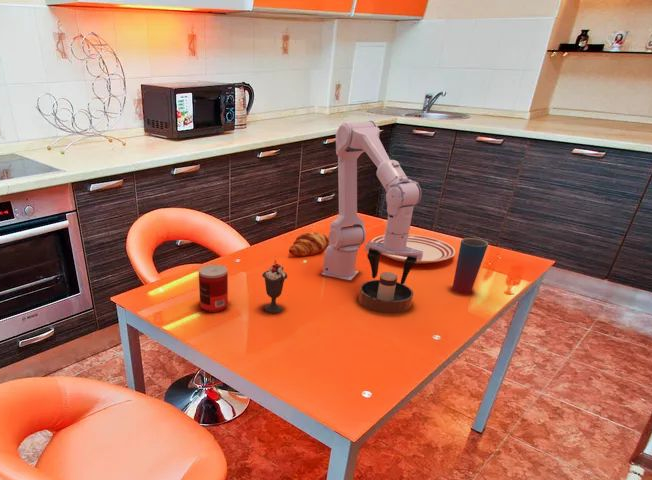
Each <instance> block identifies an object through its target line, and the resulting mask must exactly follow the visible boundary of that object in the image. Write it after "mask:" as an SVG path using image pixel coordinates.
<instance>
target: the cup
mask: <svg viewBox="0 0 652 480" xmlns="http://www.w3.org/2000/svg"><path fill="white" fill-rule="evenodd" d="M488 246H489V242H488V241H486V240H484V239H482V238H477V237H465V238H462V239H461V240H460V245H459V251H458V256H457V260H456V261H457V262H456V267H455V272H454V278H453V283H452V288H451V289H452V291H454V292H455V293H458V294H462V295H463V294H465V295H467V294H470V293H472V290H473V288H474V285H475V282H476V280H477V277H478V274H479V271H480V269H481V265H482V263H483V260H484V257H485V254H486V253H487V249H488Z"/></svg>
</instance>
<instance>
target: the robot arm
mask: <svg viewBox="0 0 652 480" xmlns="http://www.w3.org/2000/svg"><path fill="white" fill-rule="evenodd" d="M380 133H381V129H380V128H379V126H378V125H377V122H376V121H375V120H368V121H357V122H356V121H355V122H342V123H341V124H340V125H339V127H337V130H336V132H335V154H336V156H337V178H338V216H337V217H336V218H335V219H334V220H333V221H332V222H331V223H330V229H329V234H328V237H329V244H328V245H327V246H326V248H325V252H324V256H323V266H322V267H323V268H322V272H321V275H322V276H325V277H334V278H338V279H342V280H346V281H352V280H353V279H354V277H356V275H357V274H358V273H359V270H357V269H356V265H357V259H358V257H357V256H358V251H359V249H361V247H362V246H363V244H364V243H365V242H366V238H367V231H366V228H365V221H364V219H363V218H361V216H359V215H358V158H359V157H360V156H361V155H362V154H363V153H364V152H365V153H366V155H367V157H369V159H370V160H371V161H372V163H373V164H374V166H376V168H377V169H376V172H375V173H376V175H375V176H376V177H377V178H378V181H379V182H380V183H381V186H383V188H384V190H385V192H386V193H385V201H386V213H387V219H386V224H385V230H384V235H385V237H384V243H374V242H371V241H367V242H366V243H365V248H364V251H365V252H367V260H368V261H369V265H370V269H371V277H372V279H375V278H376V277H378V272H379V264H380V260H381V255H382V254H381V253H386V254H389V255H397V256H402V257H407V259H406V260H405V261H404V262H403V271H402V275H401V279H400V283H401V284H404V285H405V283H406V280H407V278H408V275H409V273H410V271H411V270H412V268H413V267H414V265H416V264H415V262H416V261H417V260H419V261H421V259H422V257H423V252H424V251H419V250H416V249H413V248H409V247H406V244H407V239H408V234H409V233H410V228H411V223H412V218H413V213H414V207H415V206H417V205H418V204H419V203H420V202H421V199H422V188H421V186H420V184H419V182H417V181H414V180H412V179H410V178H408V176H407V175H406V173H405V172H404V170H403V168H402V167H401V164H400V163H399V161H398V160H395V159H390V157H389V155H388V153H387V152H386V149H385V147H384V145H383V143H382V140H381V139H380ZM361 245H362V246H361Z"/></svg>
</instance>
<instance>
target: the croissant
mask: <svg viewBox="0 0 652 480" xmlns="http://www.w3.org/2000/svg"><path fill="white" fill-rule="evenodd" d="M329 244H330V242H329V236H327V235H326V234H321V233H319V232H309V231H307V232H303V233H300V234H299V235H297V236H296V239H295V241H294V242H293V243H292V245H291V246H290V247H289V249H288V253H289V254H290V255H293V256H300V257H305V256H312V255H315V254H318V253H321V252H322V251H324V250H325V249H326V248H327V247H328V245H329Z"/></svg>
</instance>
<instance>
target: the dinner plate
mask: <svg viewBox="0 0 652 480" xmlns="http://www.w3.org/2000/svg"><path fill="white" fill-rule="evenodd" d="M384 237H385V234H382V235H379V236H376V237H374V238H372V239H371V240H370V242H374V243H384ZM406 247H409V248H413V249H416V250H419V251H424V252H423V257H422V259H421V261H419V260H417V261H416V262H415V264H414V265H422V264H423V265H425V264H432V263H439V262H442V261H443V262H444V261H447V260H449V259H451V258H453V257H454V256H455V255H456V249H455V248H454V247H453V246H452V245H450V244H449V243H448V242H446V241H443V240H440V239H437V238H433V237H430V236H425V235H419V234H411V233H410V234H408V239H407V244H406ZM381 255H382V256H384V257H386V258H389V259H391V260H394V261H397V262H400V263H404V261H405V260H406V259H407V257H402V256H397V255H389V254H386V253H381Z"/></svg>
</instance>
